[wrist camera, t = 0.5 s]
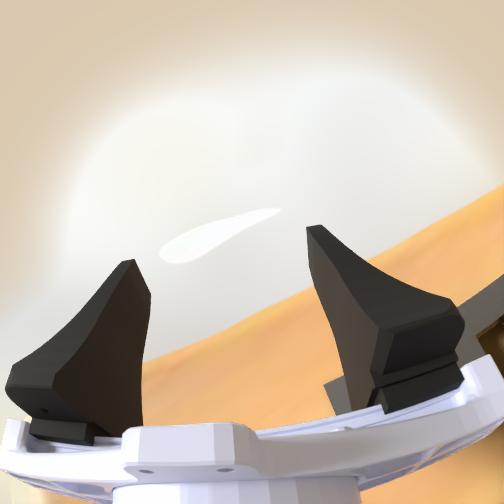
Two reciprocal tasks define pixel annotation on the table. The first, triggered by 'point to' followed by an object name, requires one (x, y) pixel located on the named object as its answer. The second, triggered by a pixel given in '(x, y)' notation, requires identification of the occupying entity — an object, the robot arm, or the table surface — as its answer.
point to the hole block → (480, 320)
